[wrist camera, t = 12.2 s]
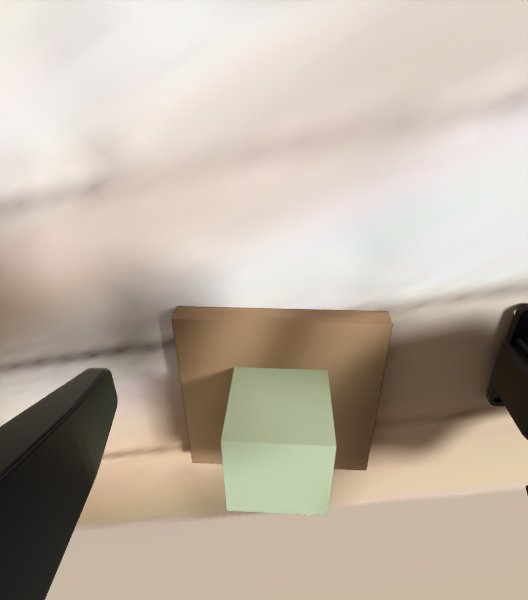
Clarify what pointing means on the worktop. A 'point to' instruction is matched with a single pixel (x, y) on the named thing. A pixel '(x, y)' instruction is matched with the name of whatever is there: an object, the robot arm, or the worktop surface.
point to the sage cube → (279, 441)
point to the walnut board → (282, 367)
